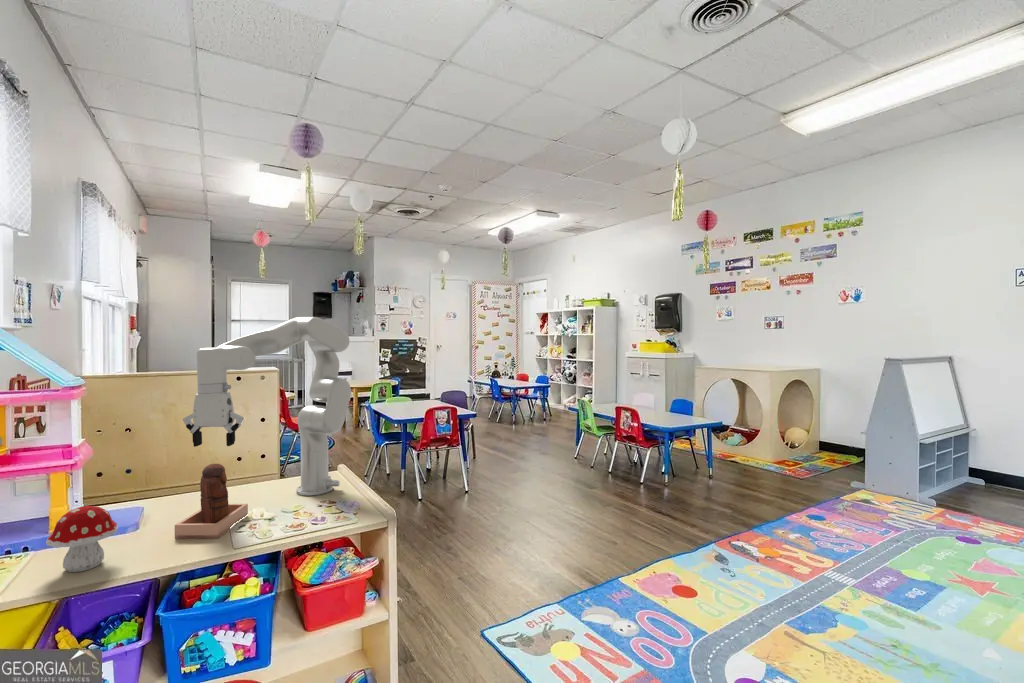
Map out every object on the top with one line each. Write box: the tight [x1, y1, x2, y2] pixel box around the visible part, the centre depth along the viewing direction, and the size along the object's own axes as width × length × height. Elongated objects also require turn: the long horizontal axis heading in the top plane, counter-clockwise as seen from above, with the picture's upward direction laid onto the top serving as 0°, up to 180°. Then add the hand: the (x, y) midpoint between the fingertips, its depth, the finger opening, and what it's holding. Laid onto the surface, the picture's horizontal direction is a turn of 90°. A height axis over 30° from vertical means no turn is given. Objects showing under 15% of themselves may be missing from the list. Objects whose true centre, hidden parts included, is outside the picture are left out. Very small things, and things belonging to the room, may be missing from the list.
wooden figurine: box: [199, 463, 229, 523], centre depth 149 cm, size 12×6×18 cm, turn 46°
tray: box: [174, 503, 249, 540], centre depth 148 cm, size 12×17×4 cm
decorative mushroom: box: [45, 505, 119, 573], centre depth 123 cm, size 14×14×15 cm
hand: (214, 445), depth 148 cm, fingers open, 9 cm apart
